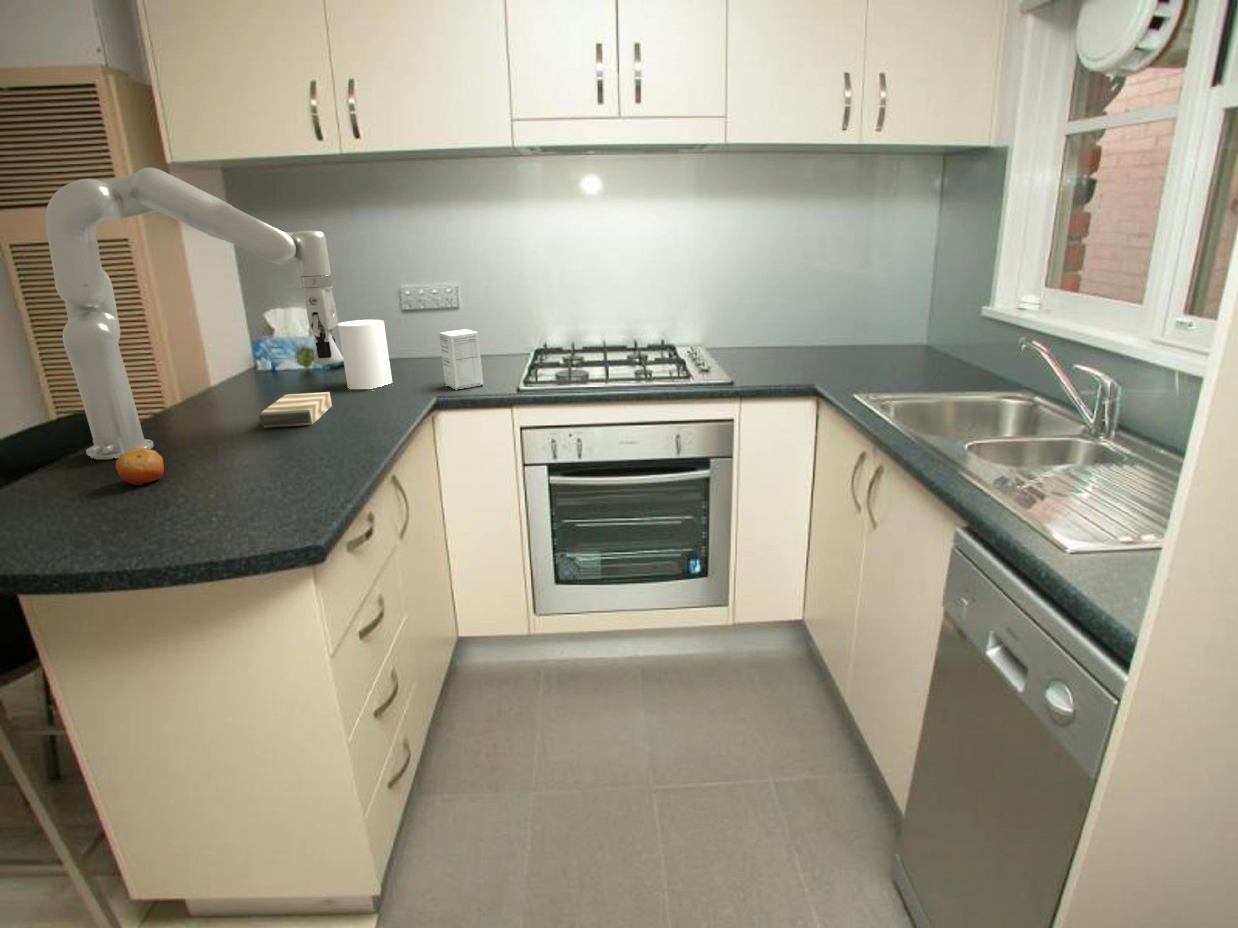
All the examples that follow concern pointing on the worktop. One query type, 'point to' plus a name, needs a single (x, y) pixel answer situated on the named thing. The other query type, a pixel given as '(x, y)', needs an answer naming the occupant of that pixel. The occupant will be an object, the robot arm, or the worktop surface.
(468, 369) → the supplement box
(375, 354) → the canister
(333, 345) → the flask
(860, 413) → the worktop surface
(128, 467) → the fruit
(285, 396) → the zigzag patterned box
